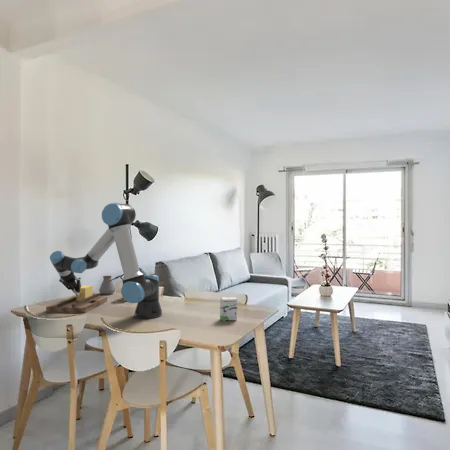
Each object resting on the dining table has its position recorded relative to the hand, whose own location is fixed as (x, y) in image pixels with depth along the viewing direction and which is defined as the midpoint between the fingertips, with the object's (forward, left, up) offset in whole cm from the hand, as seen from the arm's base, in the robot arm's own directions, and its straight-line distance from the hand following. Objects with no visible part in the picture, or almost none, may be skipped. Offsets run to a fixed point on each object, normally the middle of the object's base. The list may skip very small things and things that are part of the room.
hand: (78, 294), depth 240 cm
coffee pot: (-6, -38, -7) cm, 39 cm away
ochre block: (-1, -6, -4) cm, 7 cm away
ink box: (-96, +24, -7) cm, 99 cm away
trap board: (0, +1, -7) cm, 7 cm away
